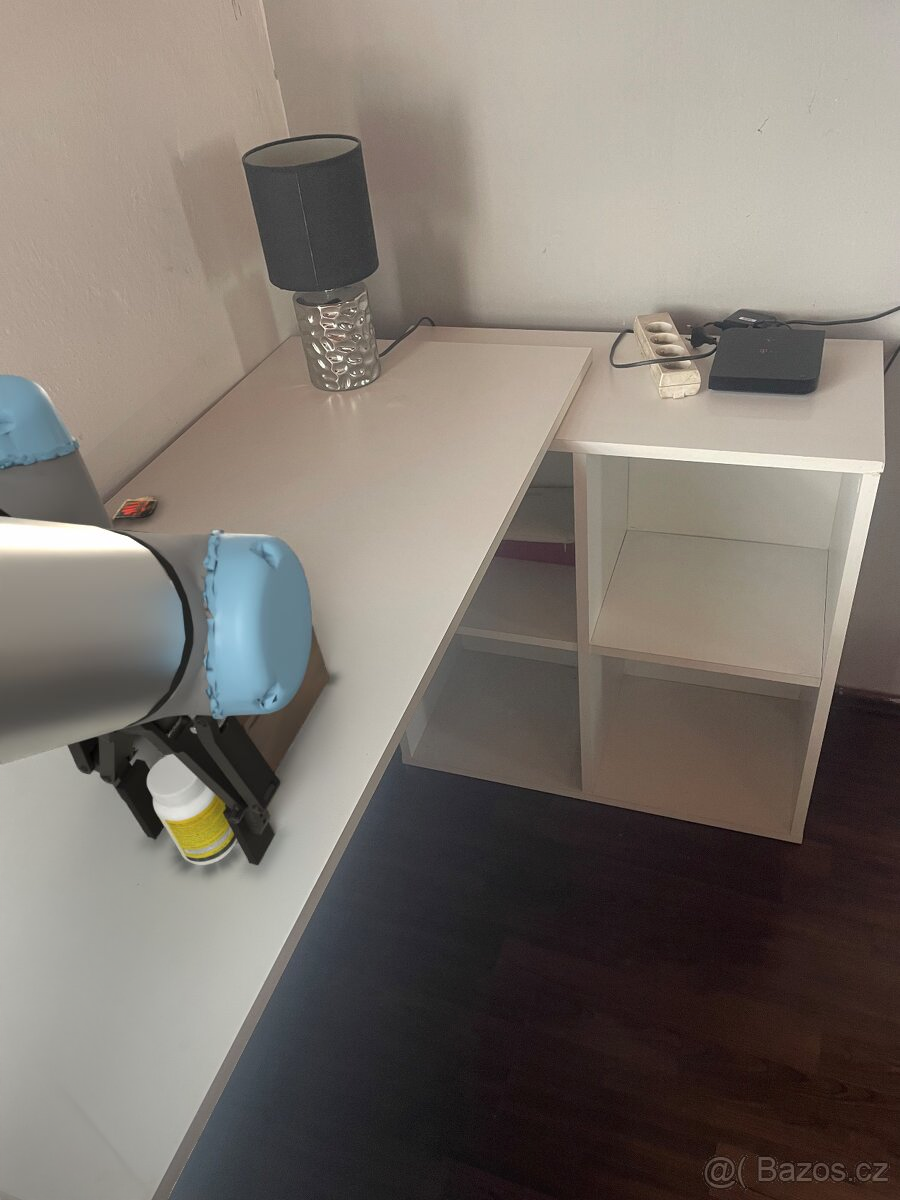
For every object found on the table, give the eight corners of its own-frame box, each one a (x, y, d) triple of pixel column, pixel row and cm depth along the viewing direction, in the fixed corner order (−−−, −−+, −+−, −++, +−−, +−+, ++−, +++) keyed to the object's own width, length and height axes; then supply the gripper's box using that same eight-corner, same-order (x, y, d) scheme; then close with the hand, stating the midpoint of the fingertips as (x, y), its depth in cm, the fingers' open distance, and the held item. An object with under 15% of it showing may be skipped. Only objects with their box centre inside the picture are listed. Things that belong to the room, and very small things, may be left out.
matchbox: (153, 516, 103) (152, 513, 103) (111, 524, 103) (109, 521, 103) (159, 495, 107) (157, 492, 106) (118, 502, 107) (116, 499, 106)
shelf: (268, 782, 71) (231, 699, 64) (110, 748, 76) (61, 667, 69) (330, 677, 79) (302, 593, 72) (183, 653, 84) (145, 573, 78)
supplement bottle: (253, 832, 67) (220, 765, 62) (206, 877, 65) (167, 811, 59) (214, 804, 70) (179, 737, 64) (168, 846, 67) (127, 780, 62)
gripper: (274, 606, 51) (353, 823, 66) (-1, 567, 58) (126, 772, 73) (209, 699, 46) (311, 912, 61) (-84, 645, 53) (71, 847, 68)
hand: (210, 835), depth 67 cm, fingers open, 9 cm apart
